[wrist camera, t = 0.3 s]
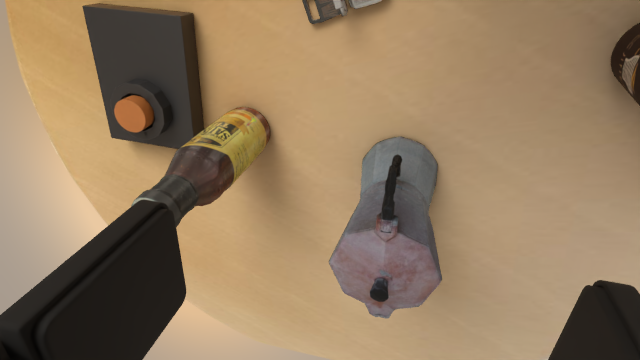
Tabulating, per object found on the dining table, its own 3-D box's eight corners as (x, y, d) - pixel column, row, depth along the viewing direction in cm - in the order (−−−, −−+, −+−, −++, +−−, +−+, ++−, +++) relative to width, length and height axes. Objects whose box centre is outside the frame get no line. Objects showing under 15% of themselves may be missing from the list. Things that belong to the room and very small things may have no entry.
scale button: (121, 92, 47) (111, 97, 46) (151, 97, 46) (142, 102, 45) (127, 124, 49) (117, 130, 48) (156, 129, 48) (148, 134, 47)
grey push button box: (99, 3, 47) (69, 7, 43) (193, 12, 45) (171, 18, 41) (124, 130, 55) (101, 143, 51) (205, 143, 53) (187, 158, 49)
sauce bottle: (259, 98, 48) (166, 175, 31) (280, 144, 50) (203, 240, 33) (215, 113, 50) (106, 192, 33) (236, 156, 52) (145, 251, 36)
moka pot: (360, 218, 53) (327, 343, 36) (355, 105, 45) (310, 194, 28) (435, 223, 50) (438, 359, 33) (442, 104, 43) (451, 201, 26)
